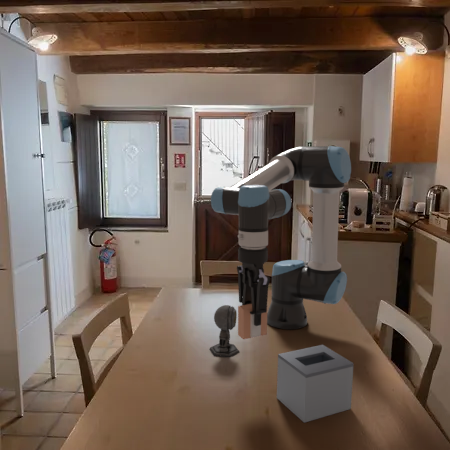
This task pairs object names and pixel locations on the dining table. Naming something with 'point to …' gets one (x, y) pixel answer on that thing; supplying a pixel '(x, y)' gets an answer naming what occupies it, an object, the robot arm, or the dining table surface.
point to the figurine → (225, 331)
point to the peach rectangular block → (245, 321)
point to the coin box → (314, 382)
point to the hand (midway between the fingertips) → (251, 333)
